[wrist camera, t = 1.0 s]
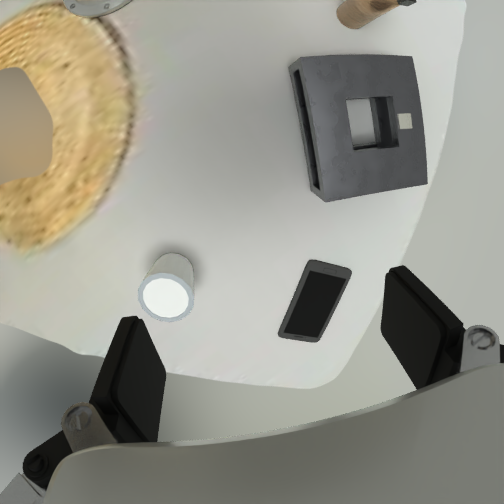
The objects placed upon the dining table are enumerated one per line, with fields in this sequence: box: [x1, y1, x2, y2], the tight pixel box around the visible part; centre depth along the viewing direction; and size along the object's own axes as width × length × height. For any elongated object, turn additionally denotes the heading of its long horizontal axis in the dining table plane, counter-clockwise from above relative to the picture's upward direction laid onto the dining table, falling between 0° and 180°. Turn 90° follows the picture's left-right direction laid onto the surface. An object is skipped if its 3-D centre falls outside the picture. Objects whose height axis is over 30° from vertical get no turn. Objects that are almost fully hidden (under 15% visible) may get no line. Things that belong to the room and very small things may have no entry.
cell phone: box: [278, 260, 352, 342], centre depth 45 cm, size 7×14×1 cm, turn 163°
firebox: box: [289, 55, 428, 202], centre depth 32 cm, size 16×14×6 cm
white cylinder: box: [138, 253, 194, 322], centre depth 38 cm, size 7×7×7 cm
